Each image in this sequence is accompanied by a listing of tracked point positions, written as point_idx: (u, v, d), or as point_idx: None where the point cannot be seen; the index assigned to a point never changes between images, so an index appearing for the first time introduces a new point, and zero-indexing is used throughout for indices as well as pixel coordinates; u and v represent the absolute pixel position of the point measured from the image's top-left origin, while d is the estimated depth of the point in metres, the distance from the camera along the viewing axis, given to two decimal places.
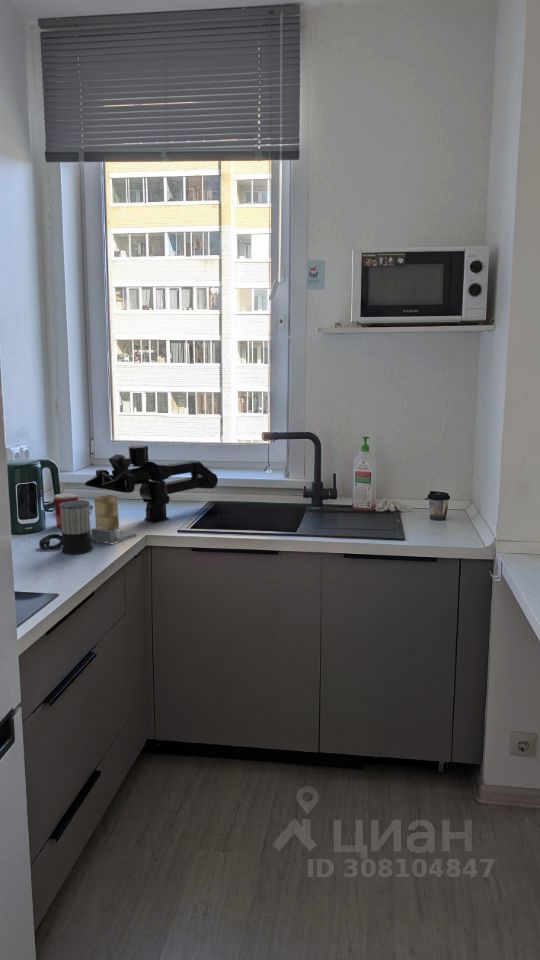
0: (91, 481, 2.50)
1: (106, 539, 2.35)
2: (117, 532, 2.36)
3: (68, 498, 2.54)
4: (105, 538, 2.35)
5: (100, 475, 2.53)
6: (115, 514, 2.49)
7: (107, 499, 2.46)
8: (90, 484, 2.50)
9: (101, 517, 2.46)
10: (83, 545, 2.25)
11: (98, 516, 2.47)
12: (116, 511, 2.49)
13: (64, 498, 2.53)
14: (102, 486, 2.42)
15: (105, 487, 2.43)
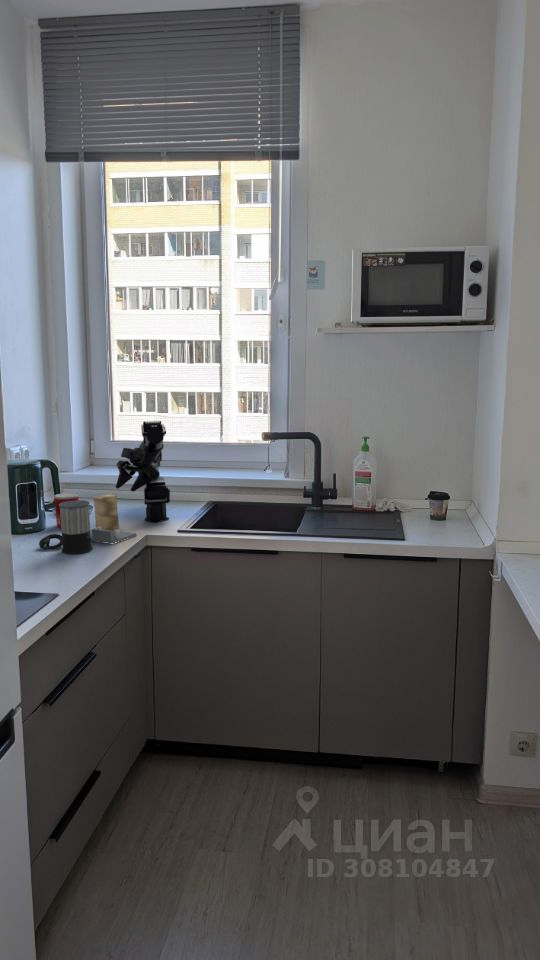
0: (119, 481, 2.56)
1: (106, 539, 2.35)
2: (117, 532, 2.36)
3: (68, 498, 2.54)
4: (105, 538, 2.35)
5: (123, 470, 2.57)
6: (115, 514, 2.49)
7: (106, 498, 2.46)
8: (120, 484, 2.57)
9: (101, 516, 2.46)
10: (83, 545, 2.25)
11: (98, 515, 2.47)
12: (116, 510, 2.49)
13: (64, 498, 2.53)
14: (132, 489, 2.49)
15: (135, 488, 2.50)
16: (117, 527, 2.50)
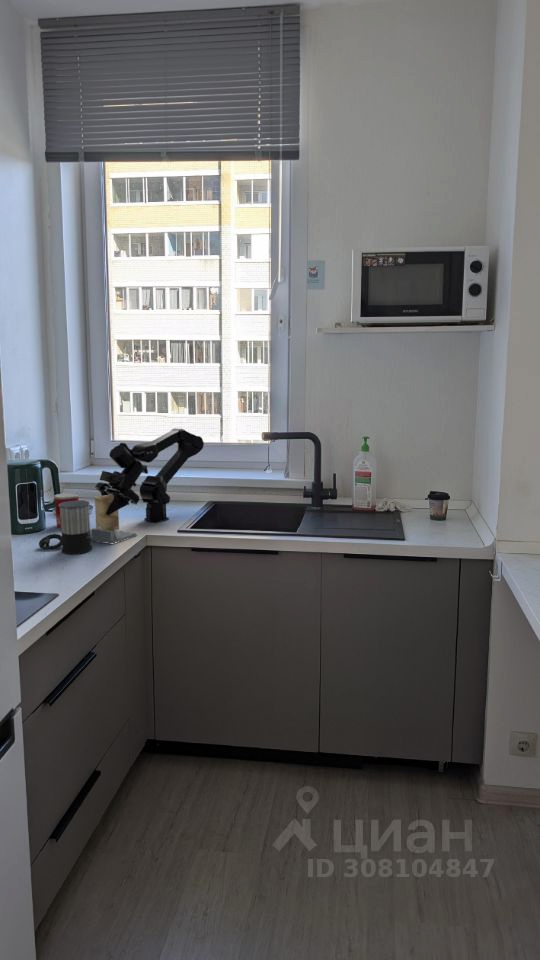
0: None
1: (106, 539, 2.35)
2: (117, 532, 2.36)
3: (68, 498, 2.54)
4: (105, 538, 2.35)
5: (105, 493, 2.51)
6: (115, 514, 2.49)
7: (107, 499, 2.46)
8: None
9: (101, 517, 2.46)
10: (83, 545, 2.25)
11: (98, 516, 2.47)
12: (116, 511, 2.49)
13: (64, 498, 2.53)
14: (108, 513, 2.46)
15: (111, 512, 2.46)
16: (117, 528, 2.50)
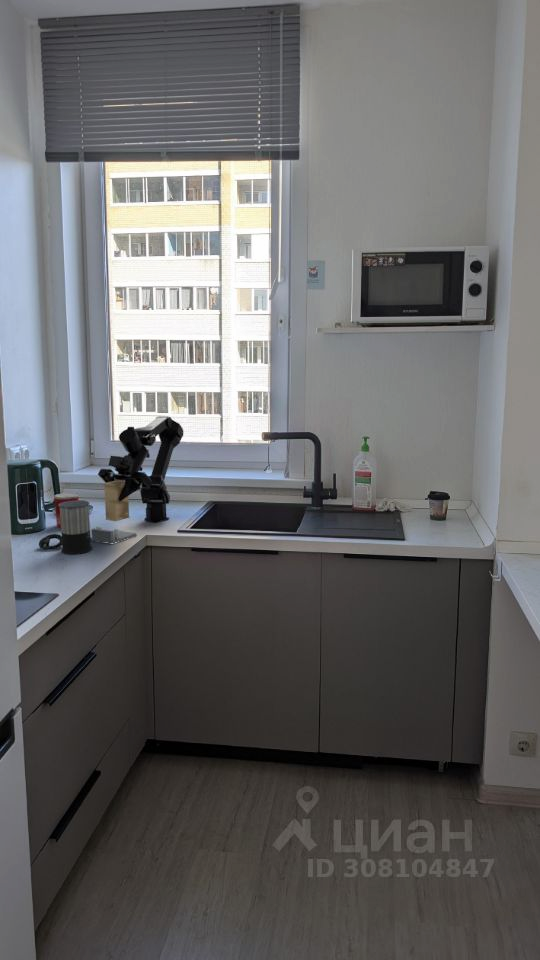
0: None
1: (106, 539, 2.35)
2: (117, 532, 2.36)
3: (68, 498, 2.54)
4: (105, 538, 2.35)
5: (112, 479, 2.43)
6: (126, 500, 2.42)
7: (119, 484, 2.39)
8: None
9: (113, 503, 2.38)
10: (82, 545, 2.25)
11: (109, 502, 2.39)
12: (127, 496, 2.42)
13: (64, 498, 2.53)
14: (120, 499, 2.39)
15: (123, 497, 2.40)
16: (127, 514, 2.43)
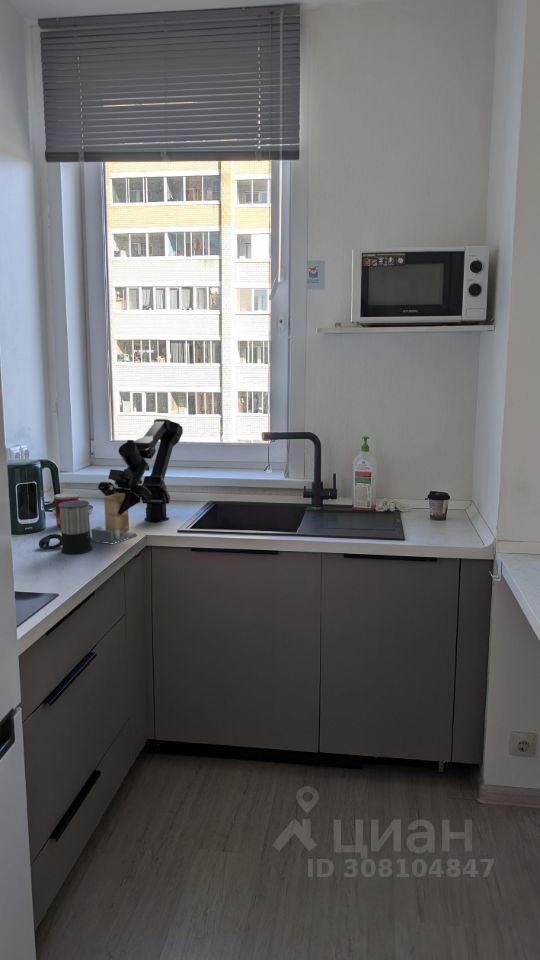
0: None
1: (106, 539, 2.35)
2: (117, 532, 2.36)
3: (68, 498, 2.54)
4: (105, 538, 2.35)
5: (112, 493, 2.43)
6: (125, 513, 2.42)
7: (119, 498, 2.39)
8: None
9: (113, 516, 2.38)
10: (82, 545, 2.25)
11: (109, 516, 2.39)
12: (126, 510, 2.42)
13: (64, 498, 2.53)
14: (120, 512, 2.39)
15: (123, 511, 2.40)
16: (127, 527, 2.43)
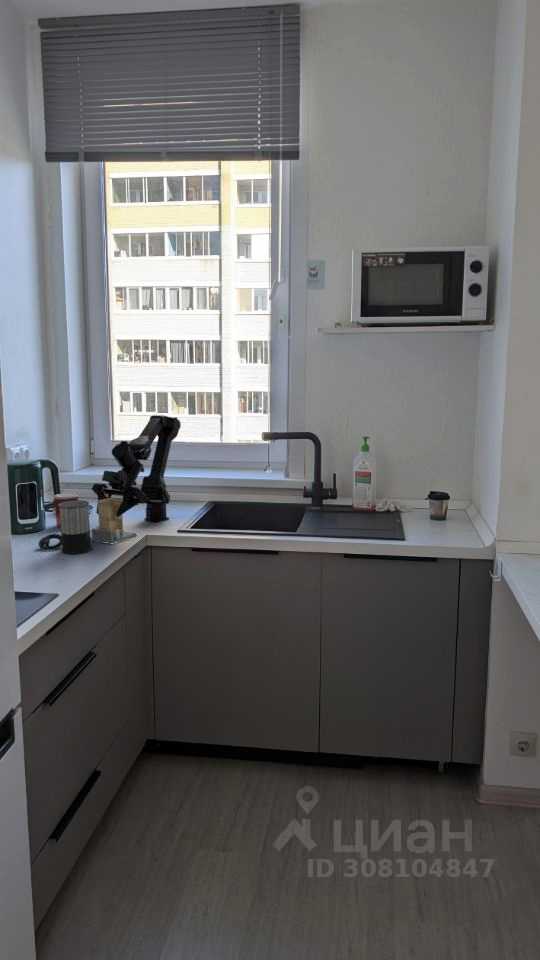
0: None
1: (106, 539, 2.35)
2: (117, 532, 2.36)
3: (68, 498, 2.54)
4: (105, 538, 2.35)
5: (102, 494, 2.42)
6: (119, 517, 2.40)
7: (113, 502, 2.37)
8: None
9: (107, 520, 2.36)
10: (82, 545, 2.25)
11: (103, 520, 2.37)
12: None
13: (64, 498, 2.53)
14: (118, 515, 2.36)
15: (121, 513, 2.36)
16: (121, 531, 2.41)
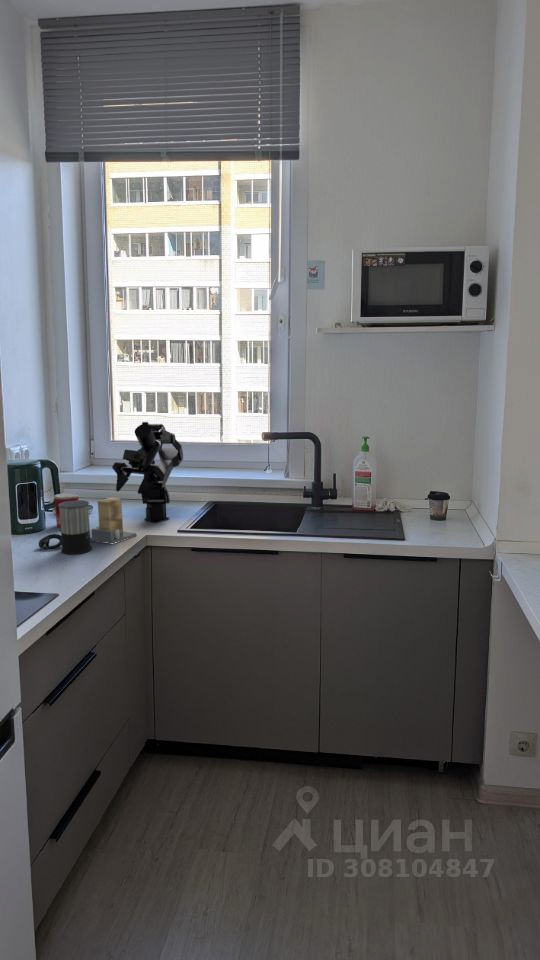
0: (119, 484, 2.52)
1: (106, 539, 2.35)
2: (117, 532, 2.36)
3: (68, 498, 2.54)
4: (105, 538, 2.35)
5: (121, 472, 2.53)
6: (119, 517, 2.40)
7: (113, 502, 2.37)
8: (120, 487, 2.52)
9: (107, 520, 2.36)
10: (82, 545, 2.25)
11: (103, 520, 2.37)
12: (120, 514, 2.40)
13: (64, 498, 2.53)
14: (139, 492, 2.46)
15: (142, 490, 2.47)
16: (121, 531, 2.41)
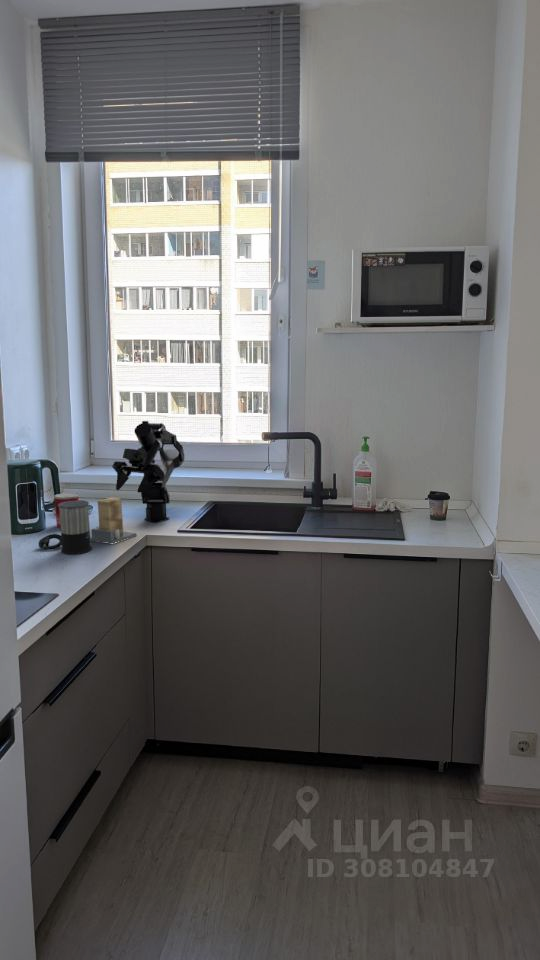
0: (119, 483, 2.52)
1: (106, 539, 2.35)
2: (117, 532, 2.36)
3: (68, 498, 2.54)
4: (105, 538, 2.35)
5: (121, 471, 2.53)
6: (119, 517, 2.40)
7: (113, 502, 2.37)
8: (120, 486, 2.52)
9: (107, 520, 2.36)
10: (82, 545, 2.25)
11: (103, 520, 2.37)
12: (120, 514, 2.40)
13: (64, 498, 2.53)
14: (139, 491, 2.47)
15: (142, 489, 2.47)
16: (121, 531, 2.41)
